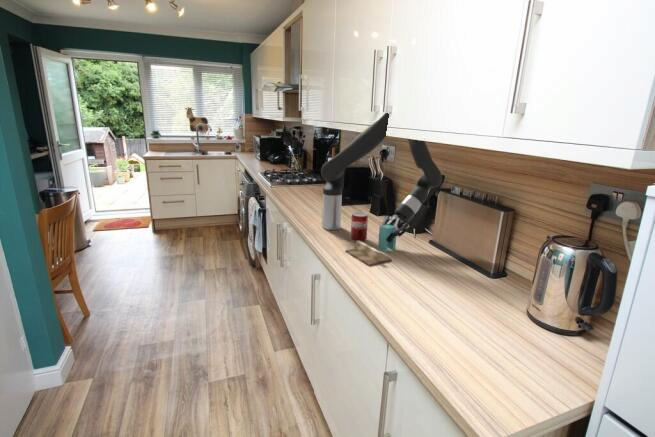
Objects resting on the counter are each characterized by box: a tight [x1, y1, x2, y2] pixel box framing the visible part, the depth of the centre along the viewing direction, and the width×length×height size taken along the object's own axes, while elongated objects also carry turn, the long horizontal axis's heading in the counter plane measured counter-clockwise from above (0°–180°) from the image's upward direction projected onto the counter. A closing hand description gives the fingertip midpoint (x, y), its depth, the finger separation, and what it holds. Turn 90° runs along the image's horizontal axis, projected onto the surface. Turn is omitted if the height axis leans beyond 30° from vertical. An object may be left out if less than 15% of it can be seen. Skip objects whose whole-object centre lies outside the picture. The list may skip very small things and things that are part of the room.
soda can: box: [350, 211, 369, 243], centre depth 156 cm, size 7×7×12 cm
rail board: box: [345, 241, 392, 267], centre depth 138 cm, size 16×11×4 cm
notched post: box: [377, 224, 397, 252], centre depth 145 cm, size 4×6×10 cm
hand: (383, 239), depth 145 cm, fingers closed on notched post, 4 cm apart
